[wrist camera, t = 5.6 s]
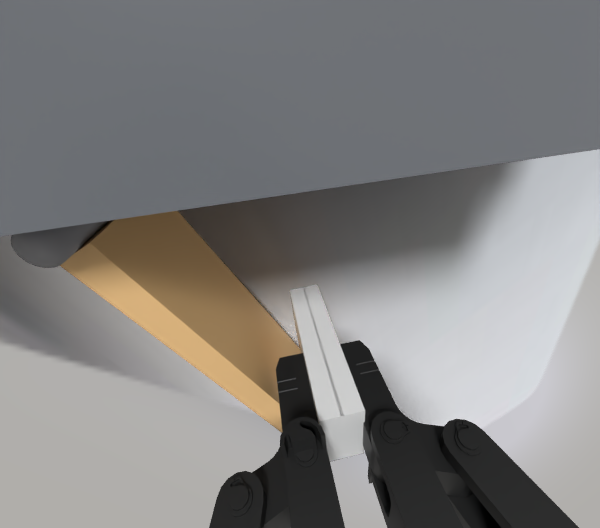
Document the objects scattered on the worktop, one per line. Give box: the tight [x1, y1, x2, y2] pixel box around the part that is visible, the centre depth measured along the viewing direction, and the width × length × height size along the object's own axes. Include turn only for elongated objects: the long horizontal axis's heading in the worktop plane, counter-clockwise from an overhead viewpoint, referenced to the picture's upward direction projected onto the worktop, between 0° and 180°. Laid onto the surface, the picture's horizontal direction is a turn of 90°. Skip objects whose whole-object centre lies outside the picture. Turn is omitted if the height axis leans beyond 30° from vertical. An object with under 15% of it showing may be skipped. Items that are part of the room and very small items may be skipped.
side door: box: [11, 211, 301, 432], centre depth 12 cm, size 14×1×6 cm, turn 30°
